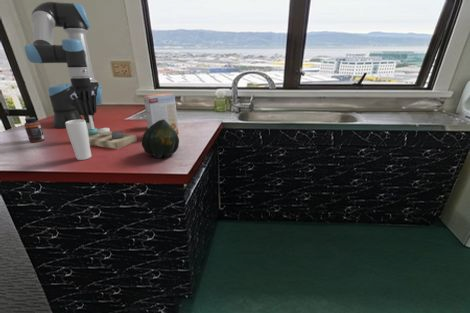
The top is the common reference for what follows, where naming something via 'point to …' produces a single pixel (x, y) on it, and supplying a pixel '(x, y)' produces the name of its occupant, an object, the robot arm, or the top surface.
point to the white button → (104, 131)
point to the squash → (160, 139)
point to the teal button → (92, 131)
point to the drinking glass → (79, 138)
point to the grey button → (117, 134)
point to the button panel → (111, 140)
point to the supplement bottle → (33, 130)
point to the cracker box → (161, 109)
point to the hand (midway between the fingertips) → (91, 128)
